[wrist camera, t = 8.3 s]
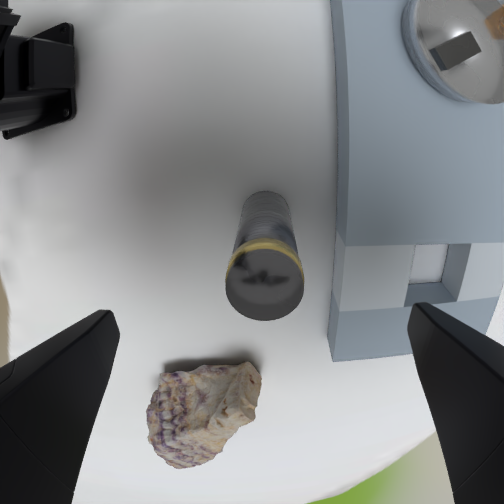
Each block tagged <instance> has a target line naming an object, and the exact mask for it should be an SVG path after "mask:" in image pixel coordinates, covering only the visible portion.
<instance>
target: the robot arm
mask: <svg viewBox="0 0 504 504" xmlns="http://www.w3.org/2000/svg"><path fill="white" fill-rule="evenodd" d="M12 10H13V9H10V8H8V0H0V131H2V134H3V137H4V139H6V140H8V139H12V138H14V137H17V136H20V135H23V134H26V133H29V132H32V131H35V130H38V129H41V128H45V127H48V126H51V125H55V124H58V123H62V122H65V121H69V120H71V119H73V118H74V116H75V114H76V107H75V93H74V84H75V72H74V47H73V26H72V24H69V23H66V22H65V23H62V24H59V25H57V26H55V27H52V28H50V29H48V30H46V31H44V32H41V33H39V34H37V35H35V36H33V37H31V38H30V37H23V36H16V35H10V34H11V32H12V30H13V28H14V26H16V25H17V23H18V21H19V19H20V17H21V15H18V14H14V13H11V12H12ZM65 28H66V31H65V32H64V33H63V31H64V29H65ZM67 109H68V110H69V115H68V116H67V115H66V111H67ZM8 130H9V133H8ZM407 332H408V336H409V340H410V344H411V348H412V352H413V356H414V360H415V364H416V368H417V372H418V375H419V378H420V381H421V384H422V387H423V390H424V393H425V396H426V399H427V402H428V405H429V408H430V411H431V414H432V418H433V421H434V424H435V427H436V431H437V434H438V437H439V441H440V444H441V448H442V452H443V455H444V459H445V463H446V467H447V471H448V475H449V479H450V483H451V488H452V492H453V497H454V502H455V504H504V346H502V345H501V344H499V343H497V342H496V341H494V340H492V339H491V338H489V337H487V336H486V335H484V334H482V333H480V332H479V331H477V330H475V329H474V328H472V327H470V326H468V325H467V324H465V323H463V322H461V321H460V320H458V319H456V318H454V317H453V316H451V315H449V314H447V313H446V312H444V311H442V310H440V309H438V308H437V307H435V306H433V305H431V304H430V303H428V302H417V303H414V304H413V306H412V309H411V313H410V317H409V321H408V325H407ZM119 339H120V332H119V328H118V326H117V323H116V320H115V317H114V314H113V312H112V311H111V310H98V311H96V312H94V313H92V314H91V315H89V316H87V317H86V318H84V319H82V320H80V321H79V322H77V323H75V324H73V325H72V326H70V327H68V328H67V329H65V330H63V331H61V332H60V333H58V334H56V335H55V336H53V337H51V338H50V339H48V340H46V341H44V342H43V343H41V344H39V345H38V346H36V347H34V348H33V349H31V350H29V351H28V352H26V353H24V354H23V355H21V356H19V357H18V358H17V359H14V360H13V361H11V362H9V363H8V364H6V365H4V366H3V367H1V368H0V504H71V503H72V499H73V495H74V491H75V487H76V483H77V479H78V476H79V472H80V468H81V465H82V461H83V458H84V454H85V451H86V448H87V444H88V441H89V438H90V435H91V432H92V428H93V425H94V422H95V419H96V416H97V413H98V410H99V407H100V404H101V401H102V398H103V396H104V393H105V390H106V387H107V384H108V381H109V378H110V374H111V371H112V366H113V362H114V358H115V354H116V351H117V347H118V343H119Z"/></svg>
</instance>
